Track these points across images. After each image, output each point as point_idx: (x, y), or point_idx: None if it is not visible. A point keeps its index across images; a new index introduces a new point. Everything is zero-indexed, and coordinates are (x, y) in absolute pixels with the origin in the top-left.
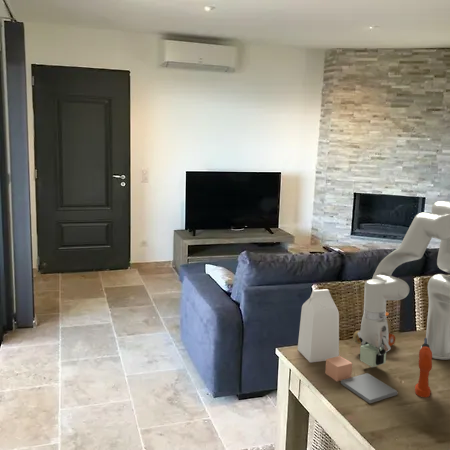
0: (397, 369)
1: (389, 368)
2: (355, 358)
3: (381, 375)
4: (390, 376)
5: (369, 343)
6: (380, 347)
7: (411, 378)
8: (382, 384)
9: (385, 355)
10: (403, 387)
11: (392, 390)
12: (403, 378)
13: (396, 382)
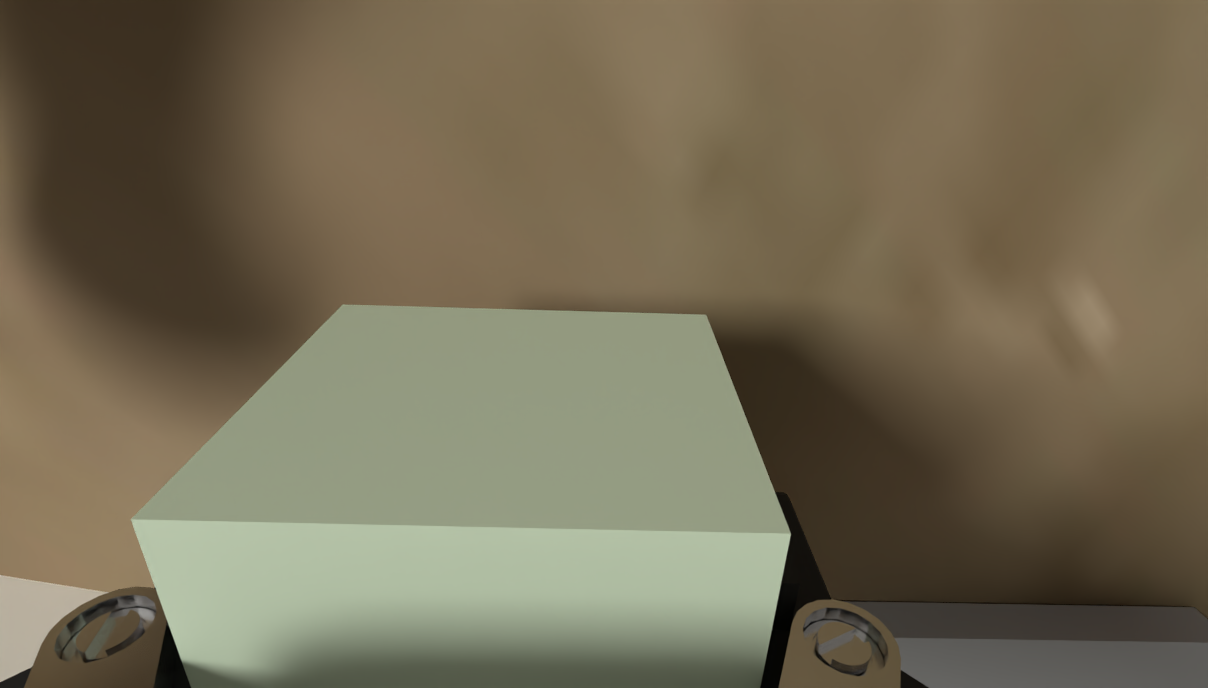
0: (797, 54)
1: (690, 163)
2: (167, 401)
3: (777, 443)
4: (877, 357)
5: (192, 669)
6: (597, 603)
7: (1154, 100)
8: (1007, 672)
9: (738, 419)
10: (1177, 429)
11: (1173, 671)
12: (1051, 228)
13: (1036, 410)
